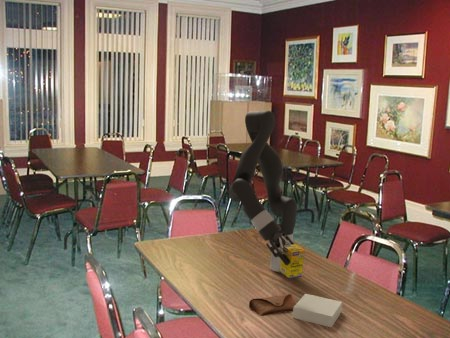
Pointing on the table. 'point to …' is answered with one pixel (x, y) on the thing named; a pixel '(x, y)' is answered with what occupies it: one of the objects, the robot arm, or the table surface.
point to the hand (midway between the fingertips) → (292, 260)
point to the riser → (317, 310)
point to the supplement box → (292, 262)
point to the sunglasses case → (272, 304)
